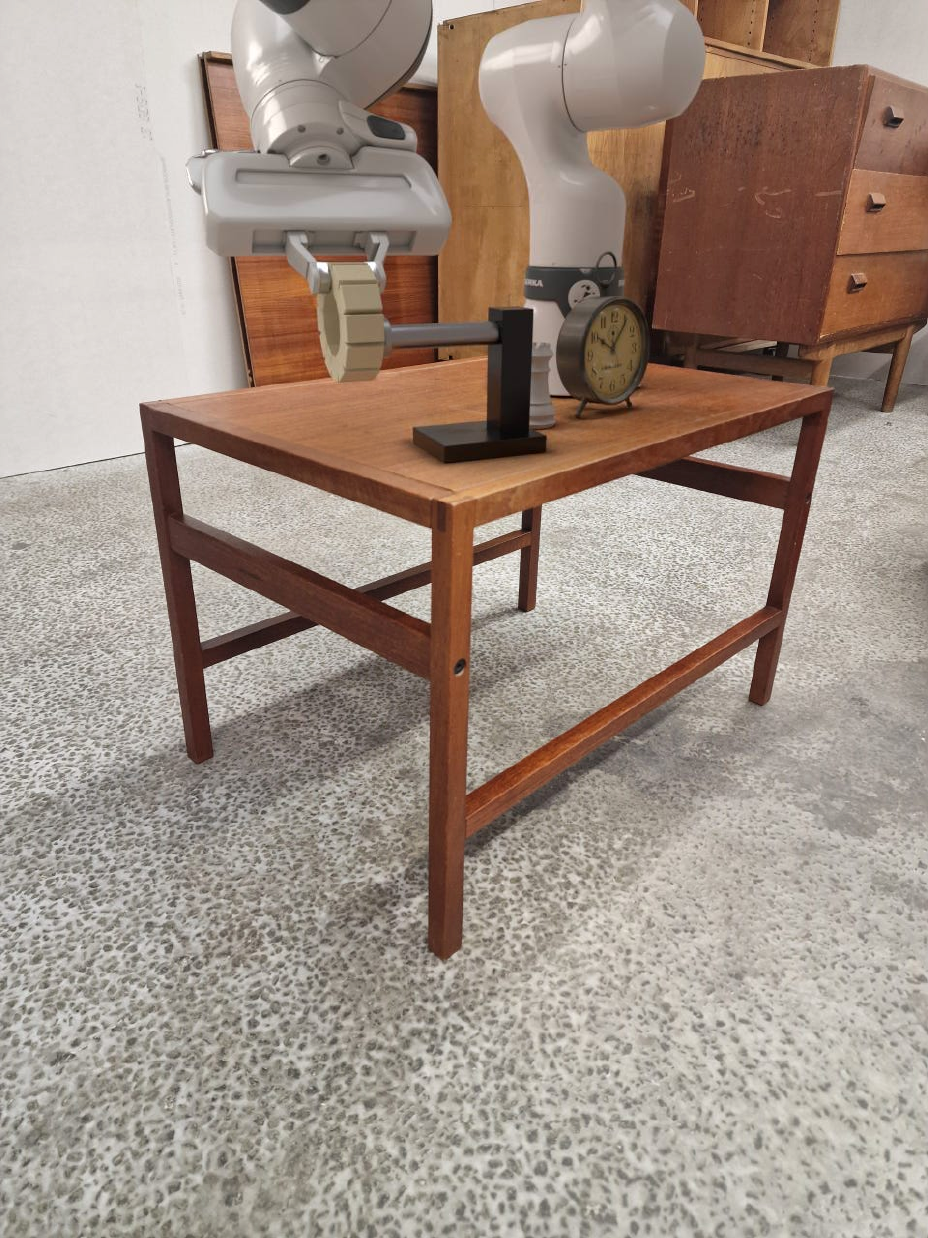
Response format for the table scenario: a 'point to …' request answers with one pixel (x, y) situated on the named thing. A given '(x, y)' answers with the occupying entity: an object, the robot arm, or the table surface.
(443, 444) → the peg stand
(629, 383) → the alarm clock
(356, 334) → the notched ring
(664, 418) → the table surface
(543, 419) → the rook chess piece
